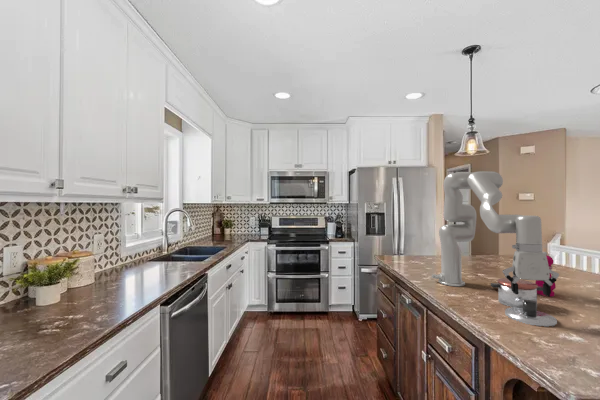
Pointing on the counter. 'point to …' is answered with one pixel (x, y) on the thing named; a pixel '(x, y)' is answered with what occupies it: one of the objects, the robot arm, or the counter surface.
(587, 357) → the counter surface
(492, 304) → the counter surface
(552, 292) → the pepper mill
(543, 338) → the counter surface
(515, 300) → the pot
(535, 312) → the lid
